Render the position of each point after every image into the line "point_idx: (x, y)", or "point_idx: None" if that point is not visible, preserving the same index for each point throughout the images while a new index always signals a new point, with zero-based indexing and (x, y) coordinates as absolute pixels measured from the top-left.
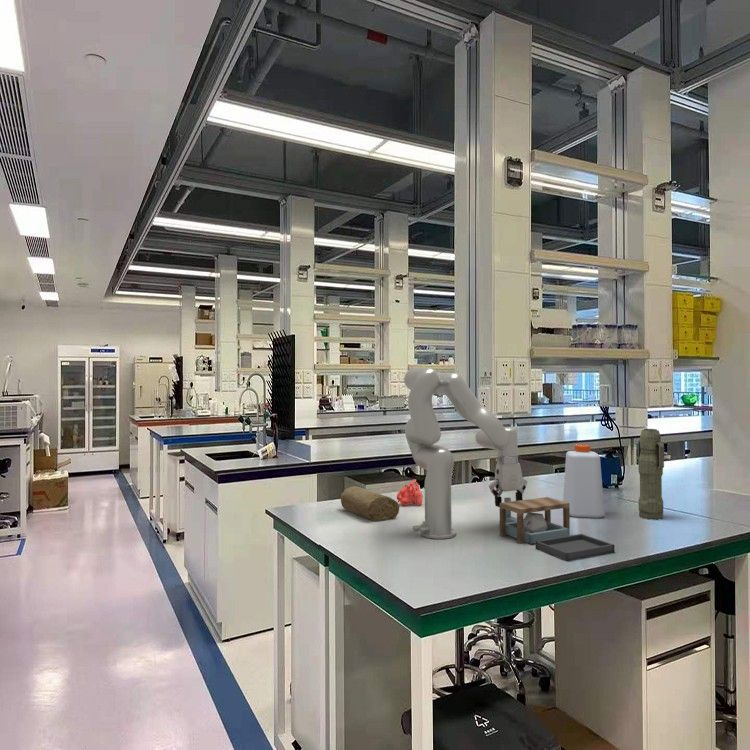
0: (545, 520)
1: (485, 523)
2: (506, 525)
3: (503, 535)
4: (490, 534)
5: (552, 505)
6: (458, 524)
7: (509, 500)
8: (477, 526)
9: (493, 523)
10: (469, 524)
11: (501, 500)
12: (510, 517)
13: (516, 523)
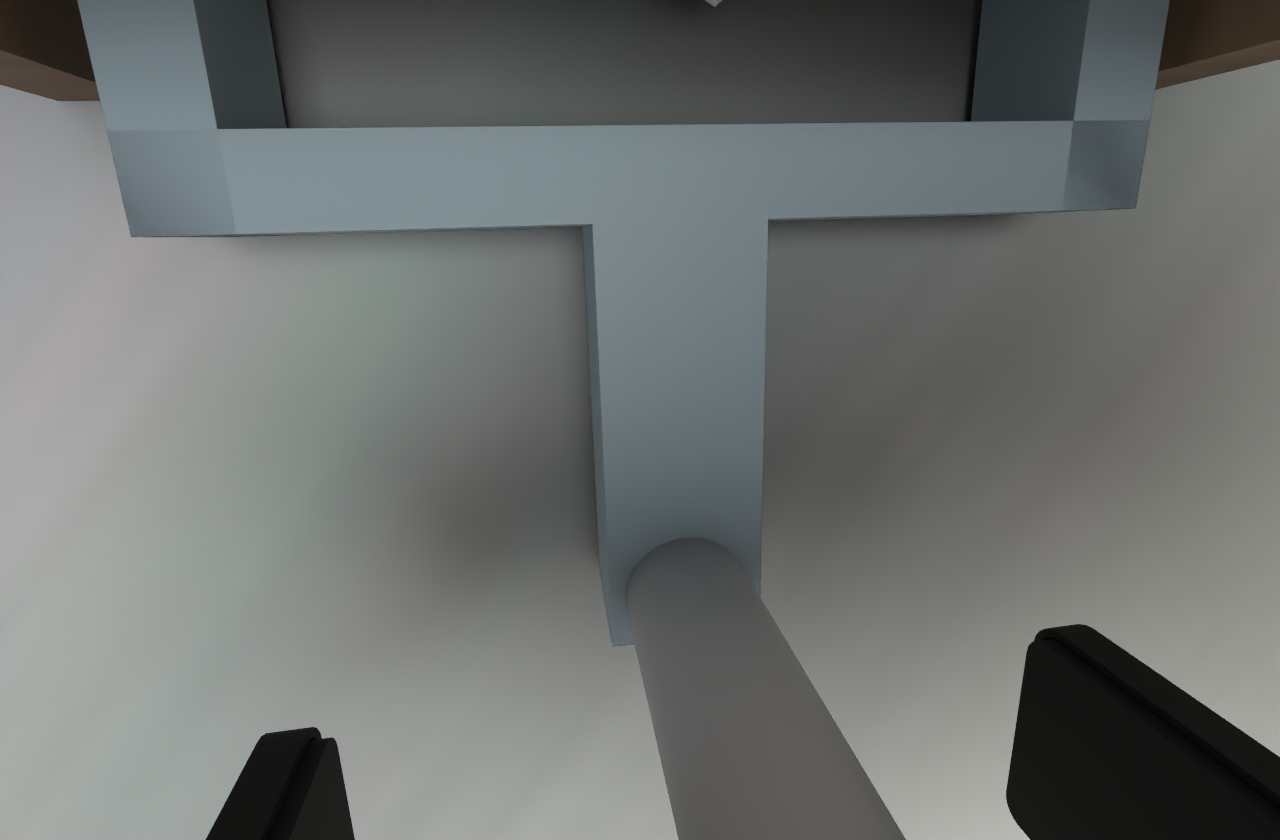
0: (14, 23)
1: (864, 708)
2: (1152, 35)
3: None
4: (1188, 210)
5: None
6: None
7: (824, 812)
8: (1047, 618)
9: None
10: None
11: (1219, 771)
12: (676, 527)
13: (833, 127)
